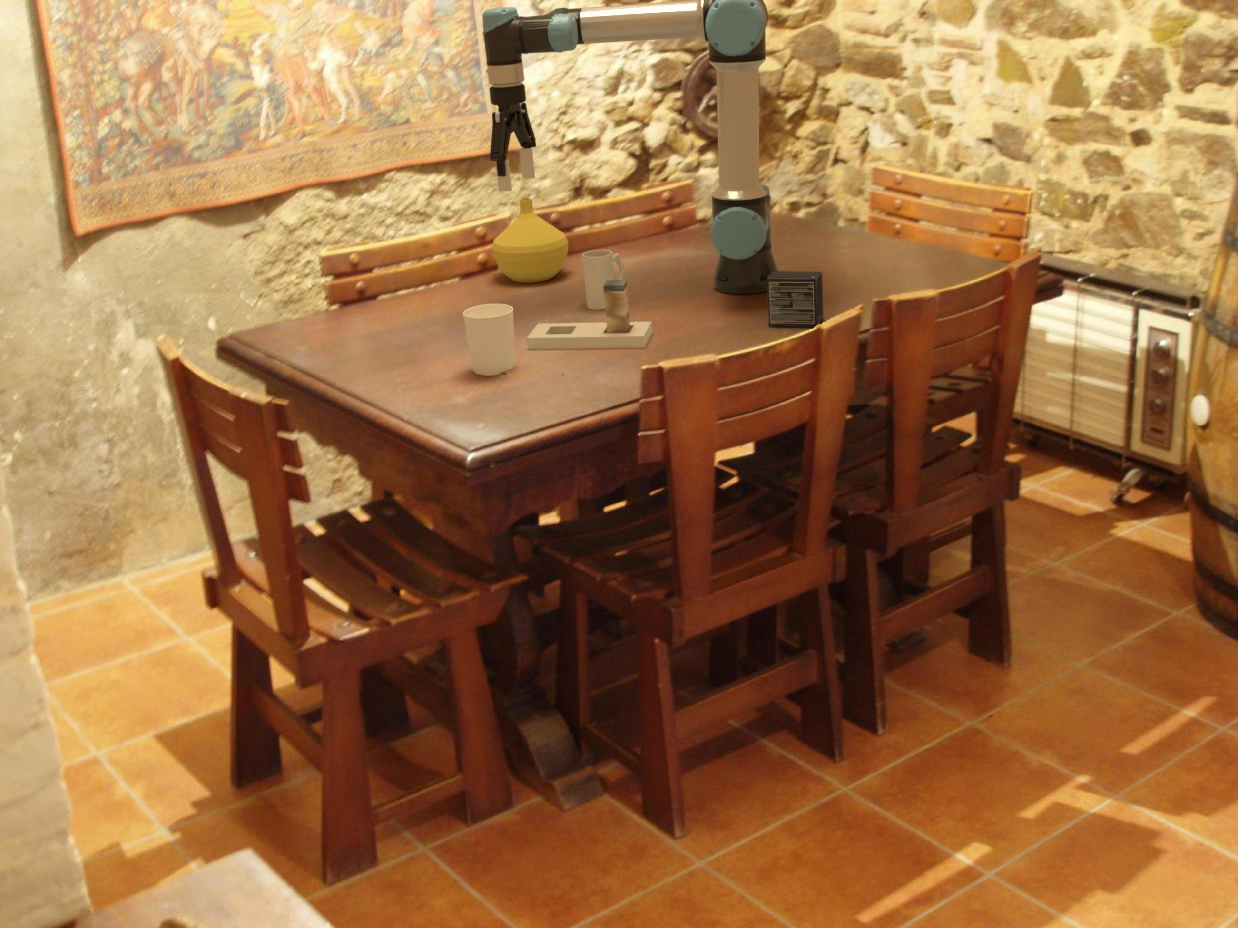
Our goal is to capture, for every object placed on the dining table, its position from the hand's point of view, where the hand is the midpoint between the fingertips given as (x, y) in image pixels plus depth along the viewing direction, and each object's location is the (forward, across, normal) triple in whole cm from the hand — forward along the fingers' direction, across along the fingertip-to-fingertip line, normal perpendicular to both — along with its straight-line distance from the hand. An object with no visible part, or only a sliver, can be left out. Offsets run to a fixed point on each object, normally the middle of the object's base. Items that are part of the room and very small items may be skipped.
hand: (517, 184), depth 310 cm
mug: (+28, -4, +17) cm, 33 cm away
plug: (+27, +24, +29) cm, 46 cm away
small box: (+28, +7, +62) cm, 68 cm away
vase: (+28, -26, -9) cm, 39 cm away
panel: (+28, +24, +23) cm, 44 cm away
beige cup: (+28, +42, +9) cm, 52 cm away
